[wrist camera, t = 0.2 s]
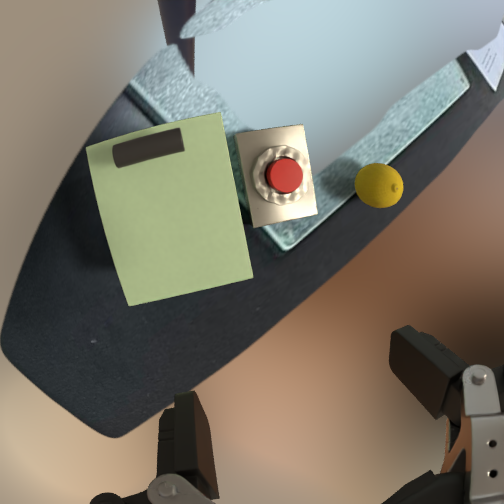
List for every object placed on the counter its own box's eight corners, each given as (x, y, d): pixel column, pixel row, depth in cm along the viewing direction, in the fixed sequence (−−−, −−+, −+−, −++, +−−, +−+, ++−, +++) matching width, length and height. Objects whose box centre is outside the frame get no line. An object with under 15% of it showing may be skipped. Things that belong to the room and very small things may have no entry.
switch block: (233, 135, 33) (237, 131, 30) (297, 126, 34) (308, 121, 31) (250, 224, 37) (256, 231, 33) (311, 211, 38) (323, 216, 34)
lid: (88, 147, 22) (66, 144, 17) (220, 113, 23) (225, 100, 19) (130, 302, 26) (119, 329, 22) (251, 274, 28) (263, 296, 23)
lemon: (336, 180, 37) (369, 185, 30) (363, 154, 37) (399, 154, 29) (359, 211, 39) (393, 222, 31) (384, 185, 39) (421, 191, 31)
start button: (263, 161, 31) (267, 161, 30) (294, 156, 32) (300, 156, 30) (269, 194, 32) (273, 195, 31) (300, 188, 33) (305, 189, 31)
